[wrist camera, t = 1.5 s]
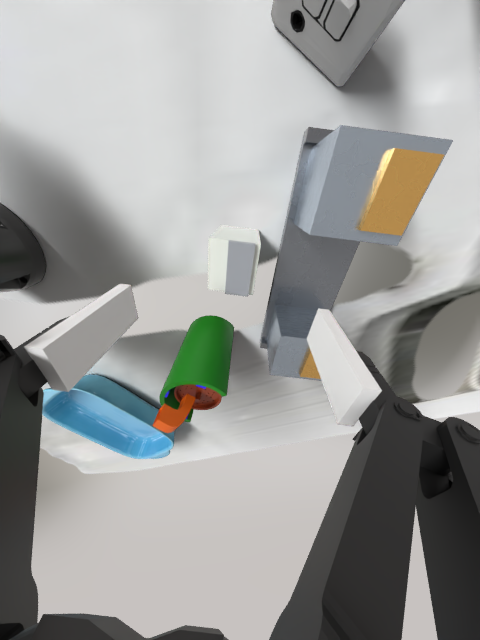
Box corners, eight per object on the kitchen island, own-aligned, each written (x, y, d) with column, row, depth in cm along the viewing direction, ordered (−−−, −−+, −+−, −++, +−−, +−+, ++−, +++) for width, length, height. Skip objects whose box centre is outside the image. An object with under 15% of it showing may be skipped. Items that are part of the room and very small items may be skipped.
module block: (219, 264, 32) (206, 291, 23) (221, 224, 29) (207, 238, 20) (252, 268, 32) (253, 297, 23) (258, 229, 29) (261, 245, 20)
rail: (260, 340, 40) (262, 383, 31) (304, 132, 23) (338, 91, 14) (311, 346, 40) (329, 390, 31) (395, 144, 23) (488, 112, 14)
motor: (220, 357, 44) (201, 459, 27) (182, 343, 42) (136, 442, 25) (240, 325, 38) (230, 426, 22) (197, 307, 37) (152, 402, 20)
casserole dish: (45, 387, 54) (20, 412, 48) (82, 352, 46) (56, 376, 40) (152, 442, 69) (142, 465, 63) (195, 423, 60) (188, 448, 54)
